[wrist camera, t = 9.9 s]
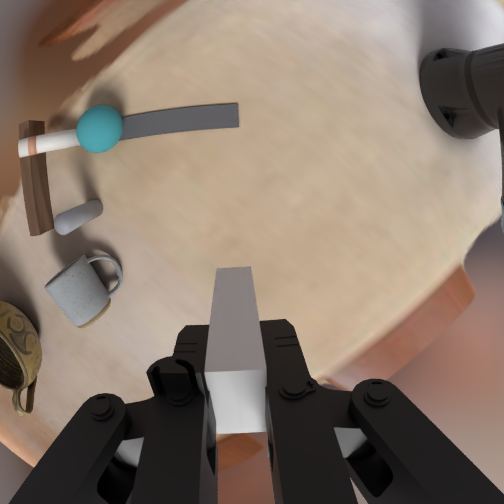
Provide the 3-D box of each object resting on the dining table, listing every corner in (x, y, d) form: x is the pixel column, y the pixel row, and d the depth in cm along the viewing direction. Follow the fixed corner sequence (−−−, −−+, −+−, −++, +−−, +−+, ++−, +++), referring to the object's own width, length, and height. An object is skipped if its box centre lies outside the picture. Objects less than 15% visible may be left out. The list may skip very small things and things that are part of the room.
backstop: (44, 121, 30) (28, 120, 26) (54, 227, 35) (40, 235, 31) (34, 124, 30) (19, 124, 26) (45, 228, 35) (30, 236, 31)
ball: (73, 113, 28) (115, 109, 32) (73, 157, 30) (115, 152, 34) (80, 101, 24) (129, 98, 28) (81, 153, 26) (130, 147, 30)
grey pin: (101, 198, 34) (68, 212, 26) (104, 215, 35) (72, 234, 27) (87, 200, 34) (52, 214, 26) (89, 217, 35) (56, 235, 27)
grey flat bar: (237, 104, 32) (238, 103, 32) (238, 127, 33) (239, 127, 33) (114, 119, 31) (113, 119, 31) (115, 141, 32) (114, 141, 32)
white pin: (81, 125, 29) (18, 138, 24) (81, 144, 30) (18, 157, 25) (81, 128, 31) (21, 140, 26) (81, 146, 32) (22, 158, 27)
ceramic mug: (89, 312, 40) (70, 339, 33) (60, 270, 37) (35, 292, 30) (137, 284, 39) (120, 311, 32) (105, 237, 37) (81, 255, 29)
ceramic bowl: (-23, 297, 38) (-64, 333, 24) (5, 258, 36) (-49, 295, 22) (40, 378, 45) (11, 424, 31) (79, 356, 43) (45, 413, 29)
